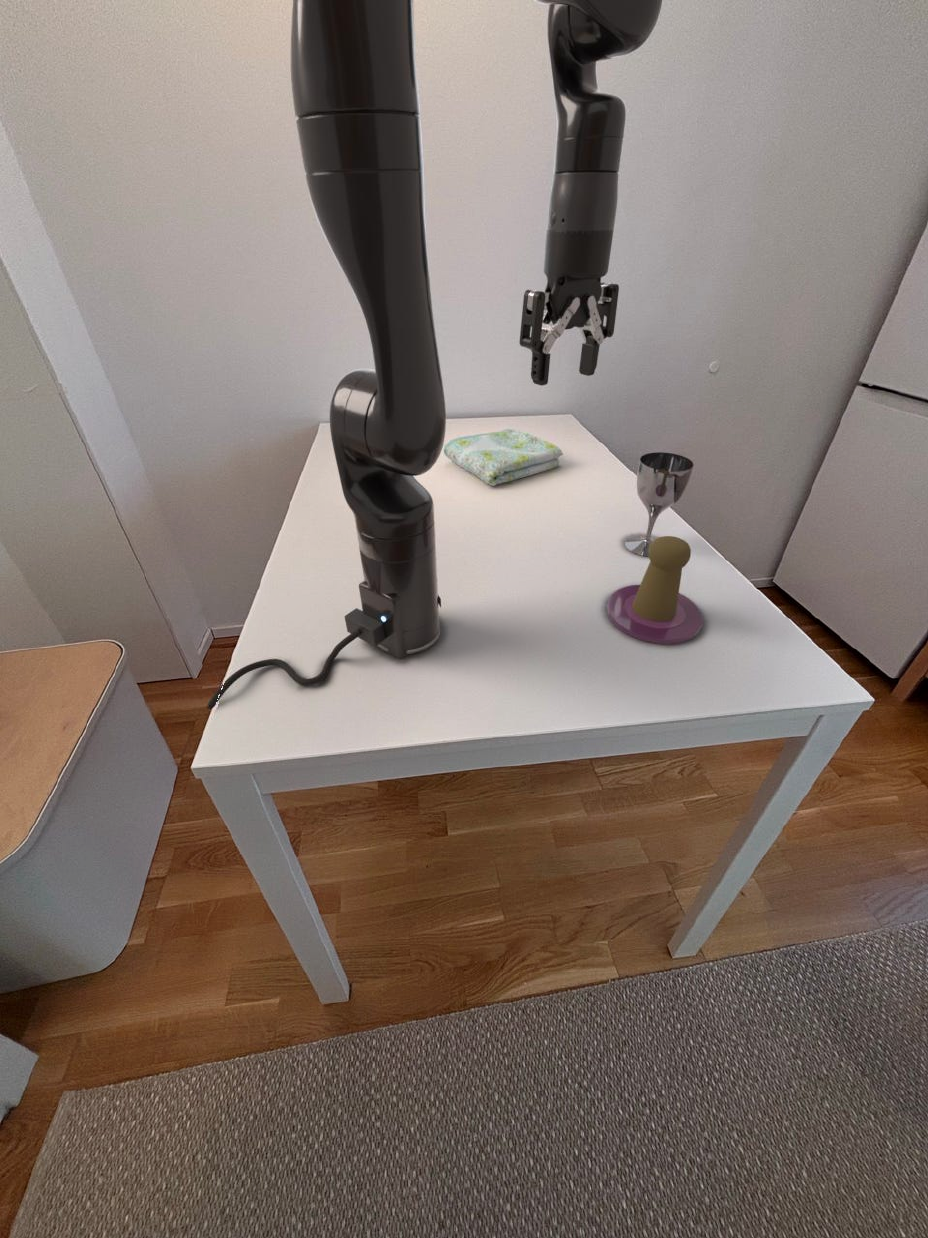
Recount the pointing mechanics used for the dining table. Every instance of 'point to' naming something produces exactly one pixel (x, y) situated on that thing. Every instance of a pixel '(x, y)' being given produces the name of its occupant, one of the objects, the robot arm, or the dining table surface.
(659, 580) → the cork
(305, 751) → the dining table surface
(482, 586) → the dining table surface
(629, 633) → the saucer
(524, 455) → the towel
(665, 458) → the wine glass
